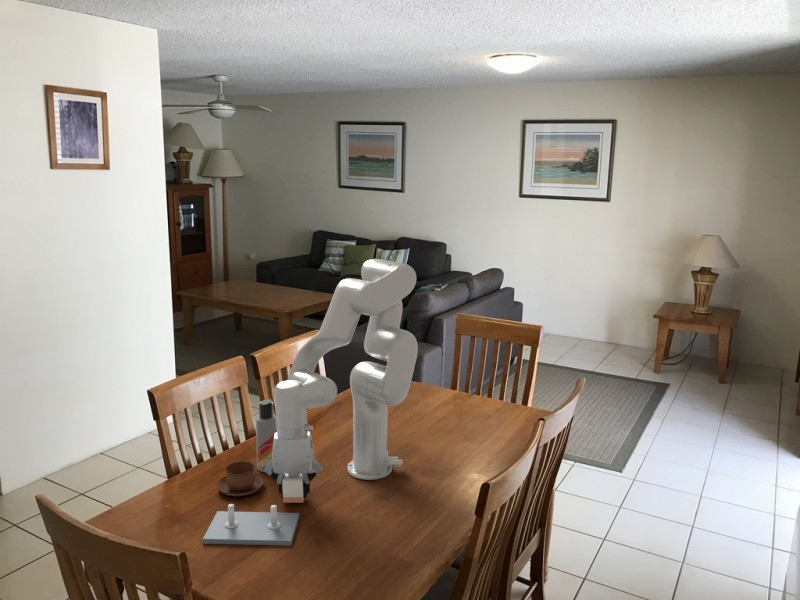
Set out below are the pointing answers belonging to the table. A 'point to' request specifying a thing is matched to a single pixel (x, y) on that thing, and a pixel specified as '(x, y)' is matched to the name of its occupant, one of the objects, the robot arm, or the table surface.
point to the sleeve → (293, 488)
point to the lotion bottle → (265, 434)
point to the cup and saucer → (240, 480)
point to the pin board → (252, 527)
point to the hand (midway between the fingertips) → (294, 495)
